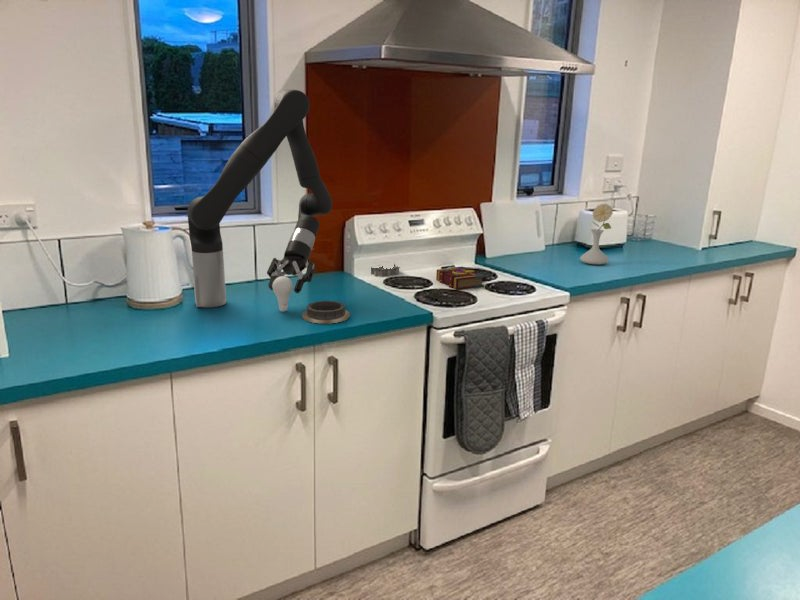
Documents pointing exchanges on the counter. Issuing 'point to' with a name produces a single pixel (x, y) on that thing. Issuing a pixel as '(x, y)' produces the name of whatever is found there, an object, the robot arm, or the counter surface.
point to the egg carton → (385, 271)
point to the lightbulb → (282, 291)
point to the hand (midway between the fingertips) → (283, 290)
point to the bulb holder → (326, 312)
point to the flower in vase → (598, 236)
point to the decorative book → (460, 278)
